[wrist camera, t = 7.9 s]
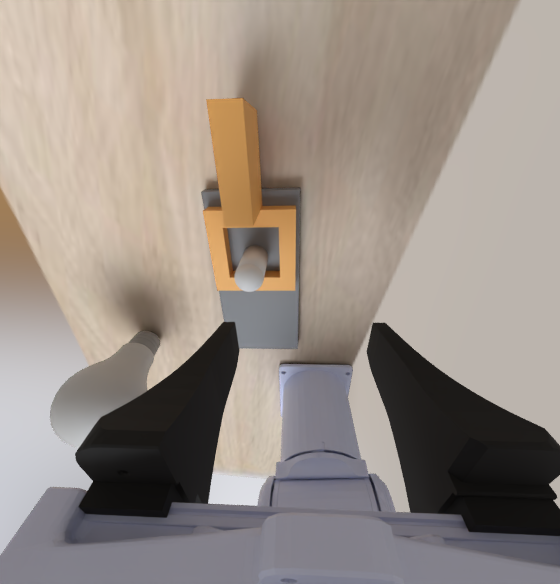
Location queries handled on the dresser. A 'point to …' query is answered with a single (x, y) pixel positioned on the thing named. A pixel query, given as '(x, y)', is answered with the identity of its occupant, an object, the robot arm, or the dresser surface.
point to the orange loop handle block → (244, 196)
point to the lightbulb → (102, 388)
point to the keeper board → (262, 305)
